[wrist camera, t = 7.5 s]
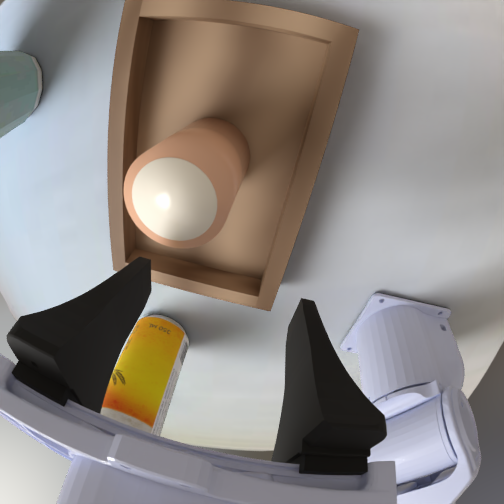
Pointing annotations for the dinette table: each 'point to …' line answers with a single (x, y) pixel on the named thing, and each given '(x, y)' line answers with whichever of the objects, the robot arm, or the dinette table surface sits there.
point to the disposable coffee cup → (18, 88)
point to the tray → (235, 112)
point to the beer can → (146, 374)
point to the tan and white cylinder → (187, 183)
